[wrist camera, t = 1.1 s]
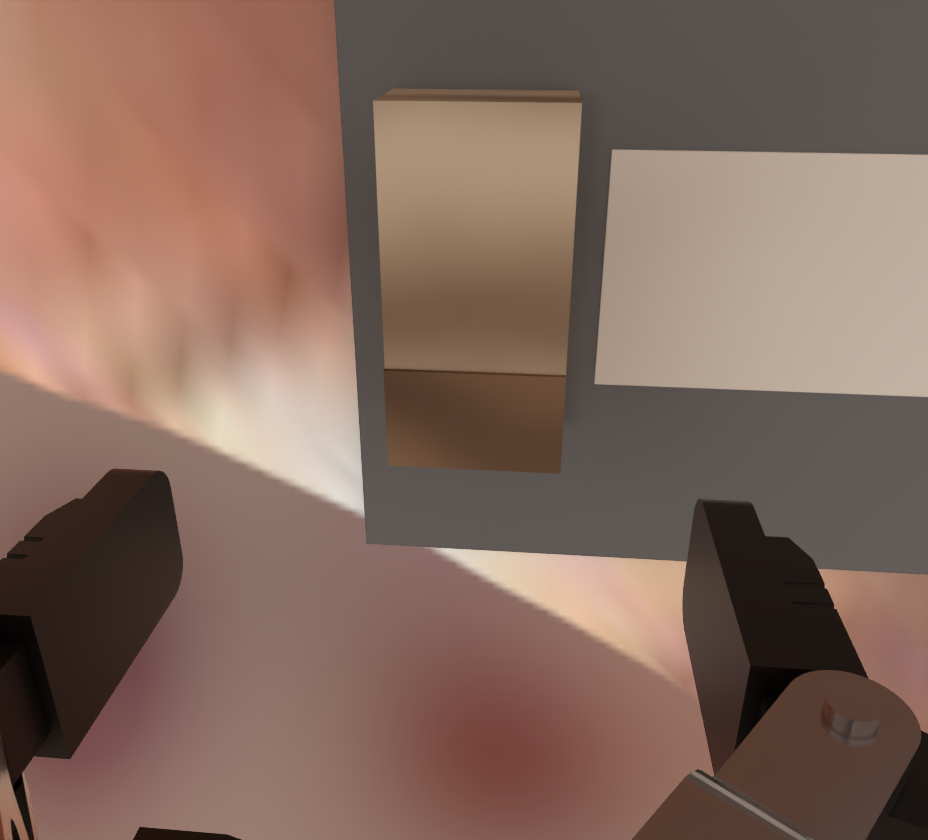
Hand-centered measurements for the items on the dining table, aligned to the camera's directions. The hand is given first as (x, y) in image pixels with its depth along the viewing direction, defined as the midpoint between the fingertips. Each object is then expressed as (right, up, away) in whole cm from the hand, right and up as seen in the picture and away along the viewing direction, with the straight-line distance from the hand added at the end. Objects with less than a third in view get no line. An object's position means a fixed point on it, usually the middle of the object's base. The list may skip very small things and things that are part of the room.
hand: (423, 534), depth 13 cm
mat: (+7, +6, +12) cm, 15 cm away
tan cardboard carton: (+1, +6, +12) cm, 14 cm away
